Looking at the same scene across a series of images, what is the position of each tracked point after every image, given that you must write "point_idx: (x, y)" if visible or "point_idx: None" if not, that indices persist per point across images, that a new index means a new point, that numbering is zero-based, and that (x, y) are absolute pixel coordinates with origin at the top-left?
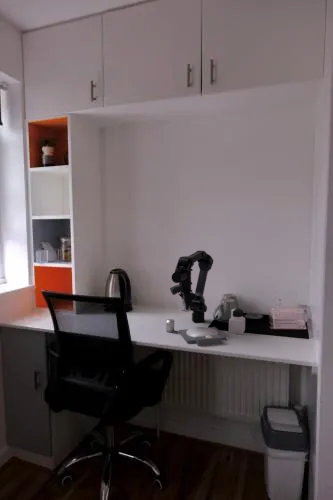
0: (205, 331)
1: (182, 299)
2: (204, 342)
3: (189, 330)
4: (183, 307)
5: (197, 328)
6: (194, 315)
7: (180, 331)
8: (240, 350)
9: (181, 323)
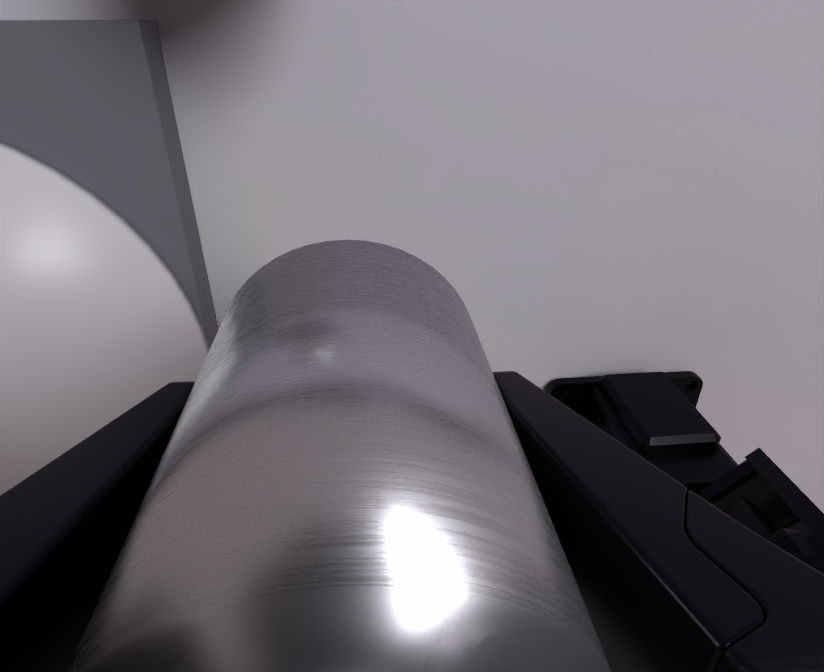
0: (2, 423)
1: (431, 636)
2: None
3: (35, 207)
4: (222, 343)
5: (149, 353)
6: (625, 445)
7: (38, 25)
8: None
9: (621, 194)
